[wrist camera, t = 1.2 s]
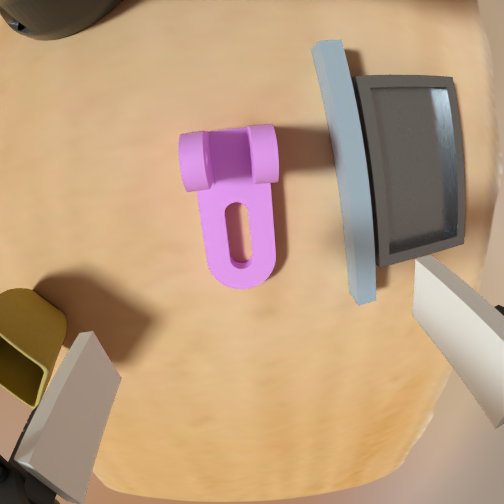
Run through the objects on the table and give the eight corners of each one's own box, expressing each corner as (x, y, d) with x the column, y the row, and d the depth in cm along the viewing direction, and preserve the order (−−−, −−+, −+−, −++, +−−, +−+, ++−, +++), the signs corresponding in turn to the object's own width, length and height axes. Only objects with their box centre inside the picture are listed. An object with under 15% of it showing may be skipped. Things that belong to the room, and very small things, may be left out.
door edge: (310, 48, 20) (318, 40, 18) (331, 47, 20) (341, 39, 18) (349, 292, 28) (358, 305, 26) (366, 288, 28) (376, 300, 26)
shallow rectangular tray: (346, 79, 21) (355, 76, 19) (439, 79, 21) (452, 77, 19) (370, 258, 27) (379, 267, 25) (452, 237, 27) (463, 243, 25)
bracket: (192, 134, 22) (176, 133, 16) (263, 126, 22) (275, 122, 16) (213, 284, 27) (208, 330, 21) (275, 277, 27) (288, 322, 21)
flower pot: (65, 360, 30) (36, 413, 21) (10, 319, 28) (-28, 363, 19) (86, 313, 28) (49, 370, 19) (23, 265, 25) (-27, 308, 17)
